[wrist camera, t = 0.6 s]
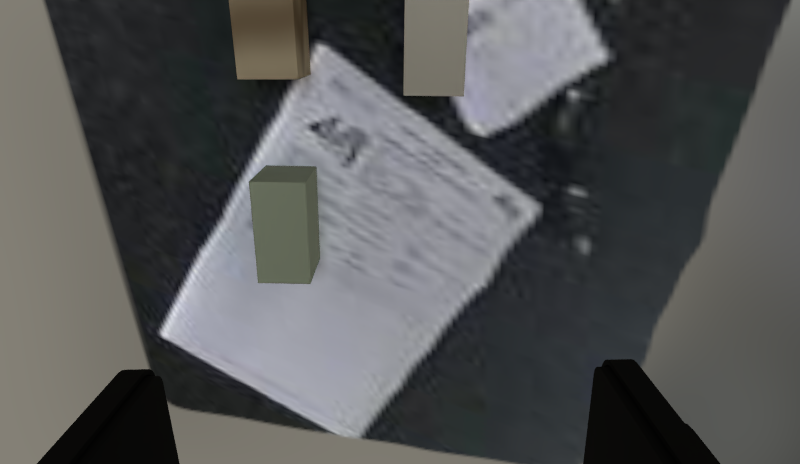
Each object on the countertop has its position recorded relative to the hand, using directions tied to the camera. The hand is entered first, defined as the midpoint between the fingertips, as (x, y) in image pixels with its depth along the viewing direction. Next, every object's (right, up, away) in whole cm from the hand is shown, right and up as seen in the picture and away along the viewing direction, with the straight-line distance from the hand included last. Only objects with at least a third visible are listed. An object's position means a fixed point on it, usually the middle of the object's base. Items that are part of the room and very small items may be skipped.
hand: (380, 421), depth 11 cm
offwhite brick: (+3, +19, +26) cm, 32 cm away
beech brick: (-8, +20, +26) cm, 33 cm away
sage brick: (-8, +6, +31) cm, 33 cm away
